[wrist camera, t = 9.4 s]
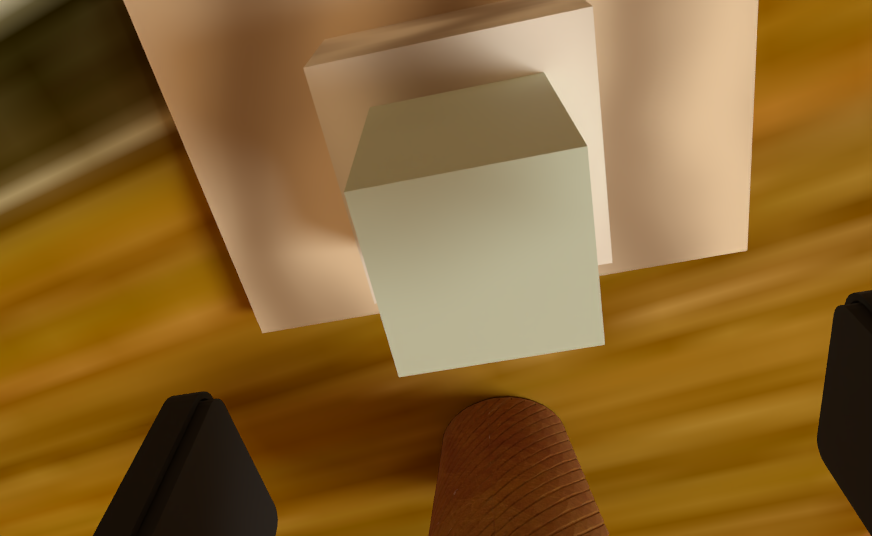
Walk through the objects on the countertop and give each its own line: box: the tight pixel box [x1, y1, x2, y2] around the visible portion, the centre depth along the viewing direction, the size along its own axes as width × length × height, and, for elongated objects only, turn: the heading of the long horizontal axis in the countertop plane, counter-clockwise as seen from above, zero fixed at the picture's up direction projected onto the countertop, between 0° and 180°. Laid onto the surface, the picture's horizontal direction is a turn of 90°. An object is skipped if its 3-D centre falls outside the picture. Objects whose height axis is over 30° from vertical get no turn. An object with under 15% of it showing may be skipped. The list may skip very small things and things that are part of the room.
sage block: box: [344, 72, 605, 377], centre depth 17 cm, size 5×5×6 cm
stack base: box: [123, 0, 758, 333], centre depth 22 cm, size 20×14×6 cm
